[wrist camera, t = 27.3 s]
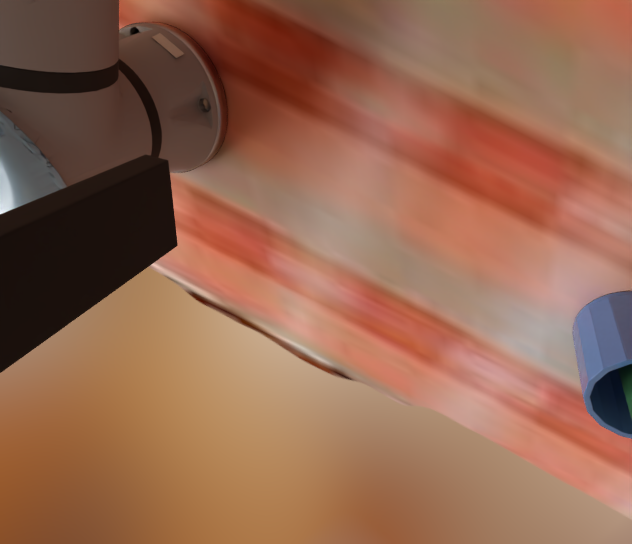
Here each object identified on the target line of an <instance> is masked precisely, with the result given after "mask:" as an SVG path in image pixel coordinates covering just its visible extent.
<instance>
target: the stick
mask: <svg viewBox="0 0 632 544" xmlns="http://www.w3.org/2000/svg"><path fill="white" fill-rule="evenodd" d="M618 371H619V375H620V379H621V382H622V386H623V390H624V393H625V397H626V401H627V404H628V408H629V412H630V415H631V419H632V364H629V365H626V366H624V367H621V368H618Z"/></svg>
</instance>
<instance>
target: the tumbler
mask: <svg viewBox="0 0 632 544" xmlns="http://www.w3.org/2000/svg"><path fill="white" fill-rule="evenodd" d="M573 338H574V345H575V351H576V357H577V363H578V369H579V375H580V381H581V387H582V393H583V398H584V402H585V405H586V409H587V412H588V413H589V414H590V415H591V416H592V417H593V418H594V419H595V420H596V421H597V422H598V423H599V425H601V426H602V427H604V428H606V429H608V430H610V431H612V432H614V433H616V434H618V435H620V436H623V437H627V438H631V439H632V419H631V415H630V412H629V408H628V404H627V401H626V397H625V393H624V390H623V386H622V382H621V379H620V375H619V371H618V368H621V367H624V366H626V365H629V364H632V291H624V292H616V293H611V294H608V295H604V296H602V297H599V298H597V299H595V300H593V301H592V302H590V303H589V304H587V305H586V306H585V307H584V308H583V309H582V310H581V311H580V312H579V313H578V315H577V317H576V319H575V321H574V325H573Z"/></svg>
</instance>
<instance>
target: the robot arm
mask: <svg viewBox="0 0 632 544" xmlns="http://www.w3.org/2000/svg"><path fill="white" fill-rule="evenodd" d="M226 128H227V103H226V98H225V93H224V89H223V86H222V83H221V80H220V78H219V76H218V73H217V71H216V69H215V67H214V66H213V64H212V62H211V61H210V59H209V57H208V56H207V55H206V53H205V52H204V51H203V49H202V48H201V47H200V46H199V45H198V44H197V43H196V42H195V41H194V40H193V39H192V38H191V37H189V36H188V35H187V34H185V33H184V32H182V31H181V30H179V29H177V28H175V27H173V26H170V25H168V24H164V23H158V22H145V23H134V24H130V25H127V26H125V27H123V28H121V29H120V30H119V0H0V373H1V372H2V371H4V370H5V369H6V368H8V367H9V366H11V365H12V364H13V363H15V362H16V361H17V360H19V359H20V358H22V357H23V356H24V355H26V354H27V353H29V352H30V351H31V350H33V349H34V348H36V347H37V346H38V345H40V344H41V343H43V342H44V341H45V340H47V339H48V338H49V337H51V336H52V335H54V334H55V333H57V332H58V331H59V330H61V329H62V328H64V327H65V326H66V325H68V324H69V323H70V322H72V321H73V320H75V319H76V318H77V317H79V316H80V315H81V314H83V313H84V312H86V311H87V310H88V309H90V308H91V307H93V306H94V305H95V304H97V303H98V302H100V301H101V300H102V299H104V298H105V297H107V296H108V295H109V294H111V293H112V292H113V291H115V290H116V289H118V288H119V287H121V286H122V285H123V284H125V283H126V282H127V281H129V280H130V279H132V278H133V277H134V276H136V275H137V274H139V273H140V272H141V271H143V270H144V269H146V268H147V267H148V266H150V265H151V264H153V263H154V262H155V261H157V260H158V259H159V258H161V257H162V256H164V255H165V254H166V253H168V252H169V251H171V250H172V249H173V248H175V247H176V246H177V236H176V227H175V218H174V208H173V199H172V190H171V180H170V173H183V172H188V171H191V170H193V169H195V168H197V167H199V166H201V165H203V164H205V163H207V162H208V161H209V160H211V159H212V158H213V157H214V156H215V154H216V153H217V152H218V150H219V149H220V147H221V145H222V143H223V140H224V137H225V133H226Z"/></svg>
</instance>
